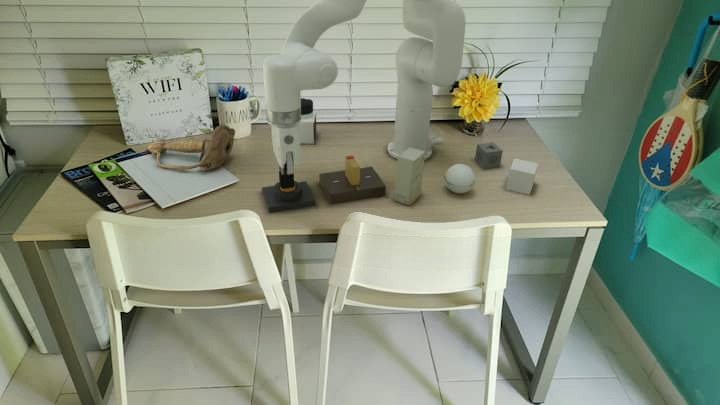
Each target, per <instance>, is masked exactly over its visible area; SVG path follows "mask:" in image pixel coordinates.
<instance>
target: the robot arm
mask: <svg viewBox="0 0 720 405" xmlns="http://www.w3.org/2000/svg"><path fill="white" fill-rule="evenodd" d="M366 3H367V0H317V1H315V2H314V3H312V5H310V6H309V7H308V8H307V9H306V10H305V11H304V12H303V13H301V15H300V16H299V17H298V18H297V19H296V20H295V22H294V23H293V25H292V27H291V28H290V30H289V32H288V35H287V37H286V39H285V41H284V43H283V46H282V48H281V51H280V53H275V54H271V55H268V56H266V57H265V58H264V59H263V61H262V77H263V78H262V79H263V92H264V106H265V107H264V108H265V120H266V123H267V124H268V125H270V126H271V140H272V141H271V142H272V149H273V154H274V156H275V159H276V161H277V163H278V180H279V181H278V182H279V184H280V187H281V189H285V188H292V187H294V181H295V168H294V167H295V165H296V167H302V165H303V163H302V162H303V161H302V151H301V150H302V149H301V143H300V136H299V129H298V124H299V123H300V122H301V97H302V96H301V91H311V90H314V91H315V90H323V89H326V88H328V87H330V86H331V85H332V84H333V83H334V82H335V81H336V80H337V77H338V73H339V67H338V65H337V63H336V61H335V59H334V58H333V57H331V56H330V55H328V54H326V53H324V52H322V51H319V50H318V49H315V46H316V43H317V42H318V40H319V39H320V37H321V36H322V35H323V34H324V33H325V32H326V31H327V30H329V29H331V28H333V27H334V26H337V25H339V24H344V23H346V22H349V21H351V20H354V19H357V18H358V17H359V16H360V15H361V14H362V11H363V10H364V7H365V5H366ZM402 24H403V27H404V28H405V30H406V31H407V32H409V33H411V34H414V35H416V36H419V37H416V36H415V37H414V36H413V37H408V38H406V39H404V40H403V41H401V43H400V44H399V46H398V47H397V49H396V52H395V67H396V78H397V88H396V91H397V92H396V102H395V114H394V115H395V116H394V129H393V140H392V141H390V142H389V143H388V144H387V148H386V149H387V150H386V151H387V153H388V154H389V156H391V157H392V158H394V159H396V160H397V159H398V156H399V155H400V154H401V153H402V152H403V151H405V150H406V149H407V148H408V147H412V148H416V149H419V150H422V151H425V157H424V161H426V160H428V159H429V158H431V156H432V154H433V148H432V147H434V146H435V145H436V146H439V145H444V138H443V137H436V135H435V134H433V135H429V134H430V133H429V132H430V125H431V115H432V106H433V100H434V99H433V98H434V89H433V87H434V86H436V87H438V88H447V87H450V86H452V85H453V84H454V83H456V81H457V79H458V78H459V76H460V73H461V69H462V64H463V56H464V55H463V54H464V45H465V35H466V34H465V33H466V15H465V11H464V9H463V8H462V6H461V5H460V4H459V3H458V2H456V1H454V0H402ZM294 163H295V165H294Z"/></svg>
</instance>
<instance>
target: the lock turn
mask: <svg viewBox="0 0 720 405" xmlns="http://www.w3.org/2000/svg"><path fill="white" fill-rule="evenodd" d="M344 165H345V166H344V170H345V175H346V177H347V179H348V180H349V182H350V183H351V185H352V186H353V185H359V184H360V168H361V166H360V164H359V163H358V161H357V160H356V158H355V157H354V155H347V156H344Z"/></svg>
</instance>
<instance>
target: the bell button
mask: <svg viewBox="0 0 720 405" xmlns="http://www.w3.org/2000/svg"><path fill="white" fill-rule="evenodd" d="M280 190H281V191H283V192H292V191H294V190H296V189H295V184H294V187H292V188H285V189H281V187H280Z"/></svg>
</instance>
